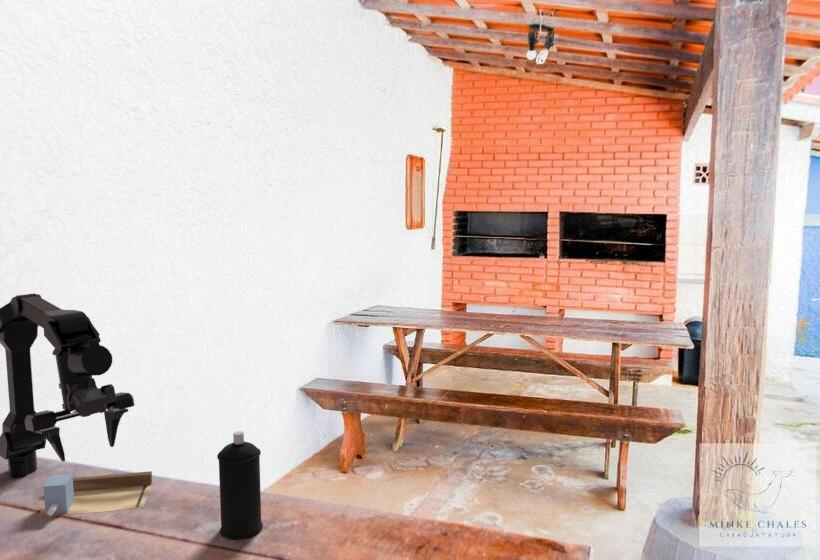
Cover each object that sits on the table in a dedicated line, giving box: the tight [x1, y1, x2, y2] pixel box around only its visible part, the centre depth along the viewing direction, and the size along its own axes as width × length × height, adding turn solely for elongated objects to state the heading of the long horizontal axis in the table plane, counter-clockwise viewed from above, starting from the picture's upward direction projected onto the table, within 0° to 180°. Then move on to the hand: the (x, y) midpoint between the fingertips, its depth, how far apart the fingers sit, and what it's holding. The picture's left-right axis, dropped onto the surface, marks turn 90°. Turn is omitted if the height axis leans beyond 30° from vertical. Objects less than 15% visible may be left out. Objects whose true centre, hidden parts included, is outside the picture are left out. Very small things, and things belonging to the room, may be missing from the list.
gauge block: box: [43, 473, 74, 516], centre depth 131 cm, size 8×4×6 cm, turn 13°
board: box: [35, 470, 153, 519], centre depth 137 cm, size 12×20×4 cm, turn 103°
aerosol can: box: [216, 430, 264, 541], centre depth 127 cm, size 8×8×20 cm
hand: (88, 453), depth 128 cm, fingers open, 9 cm apart
